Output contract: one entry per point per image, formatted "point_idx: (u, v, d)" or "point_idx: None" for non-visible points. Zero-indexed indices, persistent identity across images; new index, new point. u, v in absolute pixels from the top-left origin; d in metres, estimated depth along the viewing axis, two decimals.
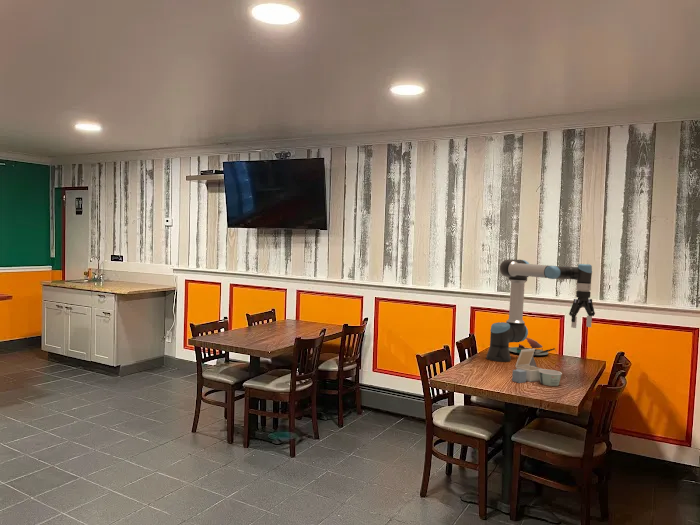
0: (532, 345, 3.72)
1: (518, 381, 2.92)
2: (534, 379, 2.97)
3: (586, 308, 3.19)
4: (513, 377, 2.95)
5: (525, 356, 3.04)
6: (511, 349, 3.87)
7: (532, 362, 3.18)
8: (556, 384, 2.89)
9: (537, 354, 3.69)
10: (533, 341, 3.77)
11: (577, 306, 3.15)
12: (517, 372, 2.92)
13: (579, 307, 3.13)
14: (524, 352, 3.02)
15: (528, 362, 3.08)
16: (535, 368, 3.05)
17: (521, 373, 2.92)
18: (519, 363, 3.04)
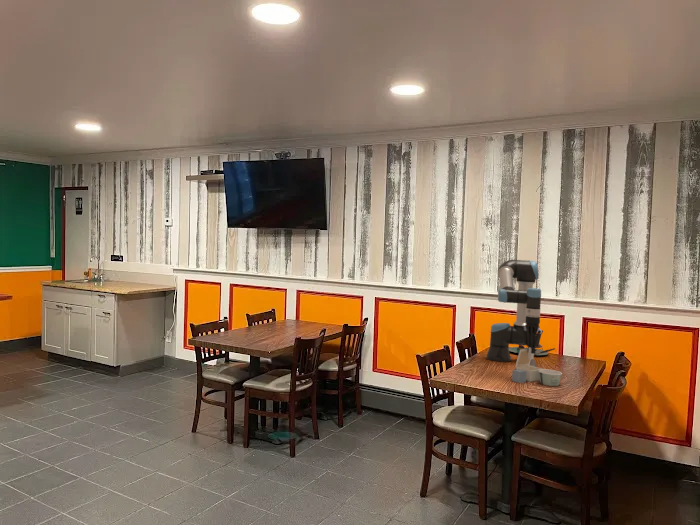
0: None
1: (518, 381, 2.92)
2: (534, 379, 2.97)
3: None
4: (513, 377, 2.95)
5: (524, 356, 3.04)
6: (511, 349, 3.87)
7: (532, 362, 3.18)
8: (556, 384, 2.89)
9: (537, 354, 3.69)
10: None
11: None
12: (517, 372, 2.92)
13: (527, 335, 3.02)
14: (523, 351, 3.03)
15: (528, 362, 3.08)
16: (535, 368, 3.05)
17: (521, 373, 2.92)
18: (519, 363, 3.04)
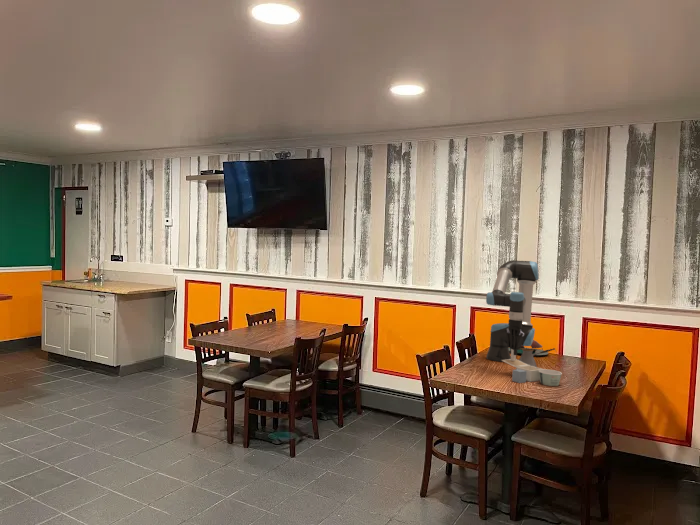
0: (532, 345, 3.72)
1: (518, 381, 2.92)
2: (534, 379, 2.97)
3: None
4: (513, 377, 2.95)
5: (513, 361, 3.11)
6: None
7: (532, 362, 3.18)
8: (556, 384, 2.89)
9: (537, 354, 3.69)
10: (533, 341, 3.77)
11: None
12: (517, 372, 2.92)
13: (510, 337, 3.13)
14: (507, 360, 3.12)
15: (524, 364, 3.10)
16: (535, 368, 3.05)
17: (521, 373, 2.92)
18: (516, 365, 3.06)
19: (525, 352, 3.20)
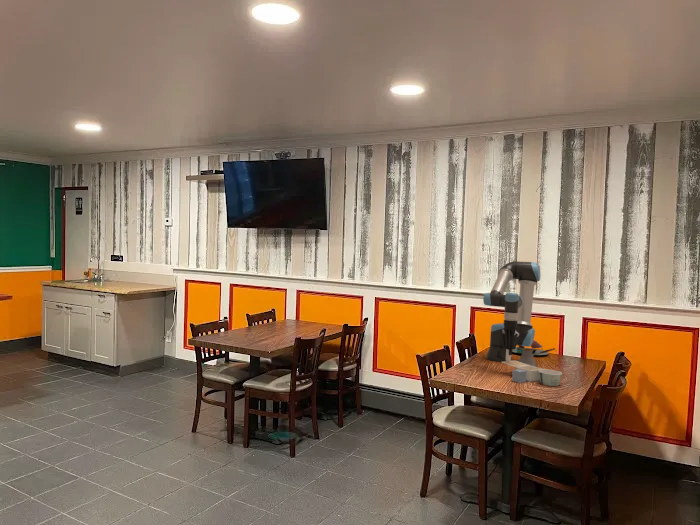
0: (532, 345, 3.72)
1: (518, 381, 2.92)
2: (534, 379, 2.97)
3: None
4: (513, 377, 2.95)
5: (513, 362, 3.11)
6: None
7: (532, 362, 3.18)
8: (556, 384, 2.89)
9: (537, 354, 3.69)
10: (533, 341, 3.77)
11: None
12: (517, 372, 2.92)
13: (505, 338, 3.16)
14: (506, 361, 3.12)
15: (524, 364, 3.10)
16: (535, 368, 3.05)
17: (521, 373, 2.92)
18: (516, 365, 3.06)
19: (525, 352, 3.20)
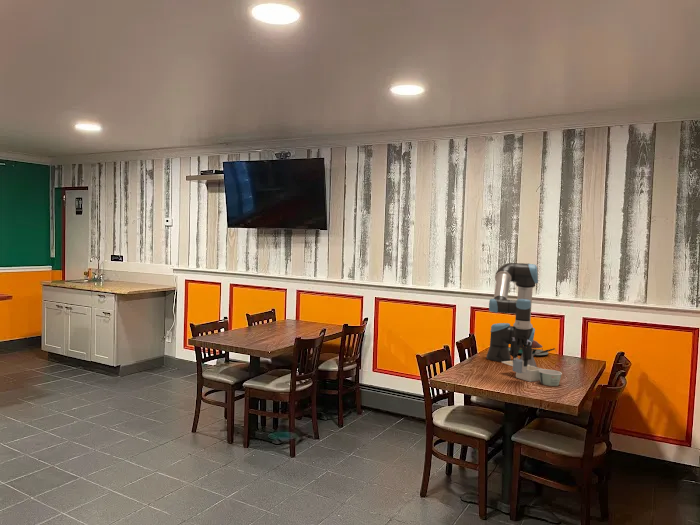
0: (532, 345, 3.72)
1: (519, 371, 2.92)
2: (534, 379, 2.97)
3: None
4: (514, 367, 2.95)
5: None
6: None
7: (532, 362, 3.18)
8: (556, 384, 2.89)
9: (537, 354, 3.69)
10: (533, 341, 3.77)
11: None
12: (518, 362, 2.93)
13: (515, 346, 2.96)
14: (506, 361, 3.12)
15: None
16: (535, 368, 3.05)
17: None
18: None
19: None
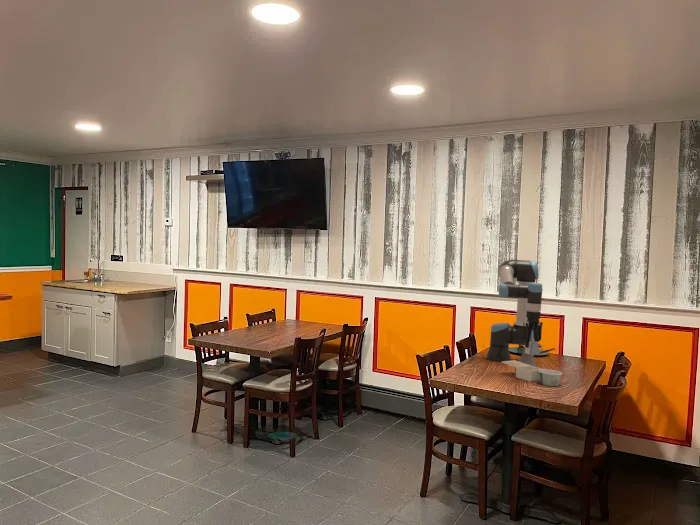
0: None
1: (537, 353, 3.00)
2: (534, 379, 2.97)
3: (534, 331, 3.02)
4: (533, 351, 2.98)
5: (513, 362, 3.11)
6: (511, 349, 3.87)
7: (532, 362, 3.18)
8: (556, 384, 2.89)
9: None
10: None
11: (528, 329, 3.00)
12: (536, 344, 3.00)
13: (530, 330, 2.99)
14: (506, 361, 3.12)
15: (524, 364, 3.10)
16: (535, 368, 3.05)
17: None
18: (516, 365, 3.06)
19: None
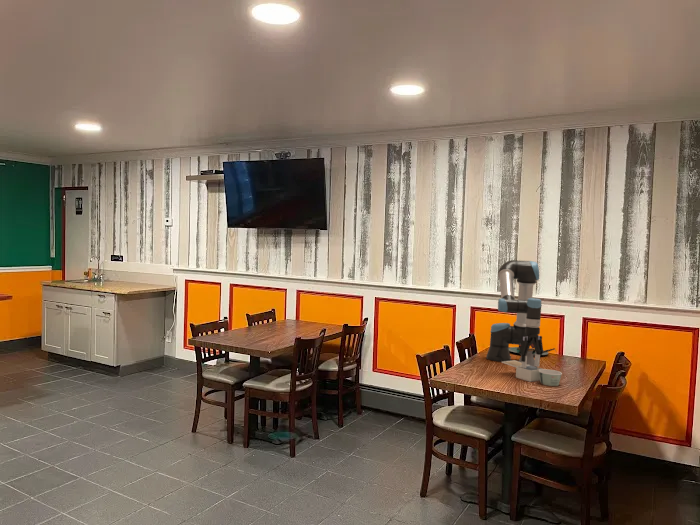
0: (532, 345, 3.72)
1: None
2: (534, 379, 2.97)
3: (535, 345, 3.03)
4: None
5: (513, 362, 3.11)
6: (511, 349, 3.87)
7: (532, 362, 3.18)
8: (556, 384, 2.89)
9: None
10: None
11: (526, 344, 3.00)
12: (535, 368, 3.00)
13: (528, 345, 2.98)
14: (506, 361, 3.12)
15: None
16: None
17: None
18: (516, 365, 3.06)
19: None
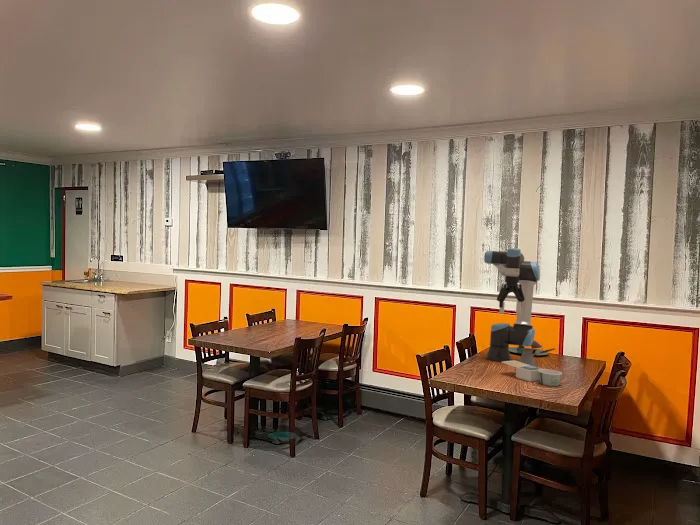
0: (532, 345, 3.72)
1: None
2: (534, 379, 2.97)
3: (515, 294, 3.12)
4: None
5: (513, 362, 3.11)
6: (511, 349, 3.87)
7: (532, 362, 3.18)
8: (556, 384, 2.89)
9: (537, 354, 3.69)
10: (533, 341, 3.77)
11: (505, 291, 3.07)
12: (535, 368, 3.00)
13: (507, 292, 3.06)
14: (506, 361, 3.12)
15: (524, 364, 3.10)
16: None
17: None
18: (516, 365, 3.06)
19: (525, 352, 3.20)
